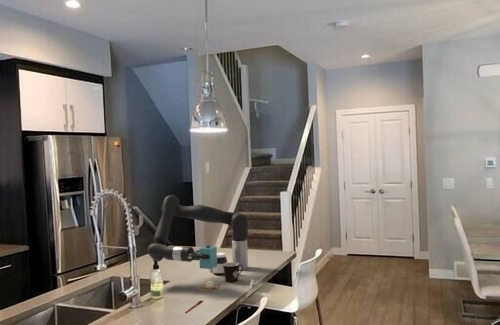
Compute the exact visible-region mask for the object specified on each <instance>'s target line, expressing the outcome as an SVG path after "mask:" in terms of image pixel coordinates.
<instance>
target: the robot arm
mask: <svg viewBox="0 0 500 325" xmlns="http://www.w3.org/2000/svg"><path fill="white" fill-rule="evenodd" d="M160 209H161V212H162V214H161V217H160V220H159V222H158V225H157V227H156V228H155V233H154V236H153V242H154V243H151V244H150V245H148V247H147V249H146V251H147V254H148V255H149V257H151V259H152V260H153V261H154V262H156V261H157V262H160V261H162V260H163V259H165V260H168V261H176V262H177V261H178V262H186V263H191V262H192V261H200V260H202V259H209V255H202V254H199V249H196V250H195V249H194V247H192V246H181V245H180V246H168V245H167V241H168V237H169V233H170V230H171V225H172V221H173V218H174V217H178V218H185V219H186V218H187V219H190V220H196V221H200V222H205V223H211V224H212V223H213V224H216V223H217V224H224V225H228V226H231V227H232V236H231V250H232V262H234V263H239V265H242V266H243V270H242V271H245V270H247V269H249V260H248V259H249V254H248V253H249V252H248V236H249V235H248V234H249V228H248V227H249V225H248V224H249V222H248V218H247V216H245V214H242V213H241V212H230V211H224V210H221V209H219V208H216V207H213V206H208V205H204V204H197V205H189V206H187V205H181V204H180V199H179V198H178V197H177V196H176V195H174V194H170V195H167V196H165V198H164V200H163V201H162V203H161V208H160ZM157 262H156V263H157ZM242 266H239V271H241V269H242Z"/></svg>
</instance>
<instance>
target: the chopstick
mask: <svg viewBox="0 0 500 325" xmlns="http://www.w3.org/2000/svg"><path fill="white" fill-rule="evenodd" d="M203 303H204V300H199V301H198V302H197V303H195V304H194V305H193V306H192V307H190V308H189V309H188V310H186V311H185V312H184V314H187V313H188V312H190V311H191V310H193V309H195V308H197V306H199V305H200V304H203Z"/></svg>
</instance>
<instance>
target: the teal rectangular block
mask: <svg viewBox="0 0 500 325" xmlns="http://www.w3.org/2000/svg"><path fill="white" fill-rule="evenodd" d="M217 249H218V248H217V246H215V245H210V244H206V245H204V246H202V247H200V248H199V249H198V250H199V254H202V255H209V259H202V260H200V259H199V269H205V270H209V269H213V268H214V267H216V266H217V253H218V251H217Z"/></svg>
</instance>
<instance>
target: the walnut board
mask: <svg viewBox="0 0 500 325" xmlns="http://www.w3.org/2000/svg"><path fill="white" fill-rule="evenodd" d="M221 286H222V284H213V288H212V289H206V285H205V284H202V285H201V286H200V287H199V288H198V289H197V292H218V291H219V289H220V287H221Z"/></svg>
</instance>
